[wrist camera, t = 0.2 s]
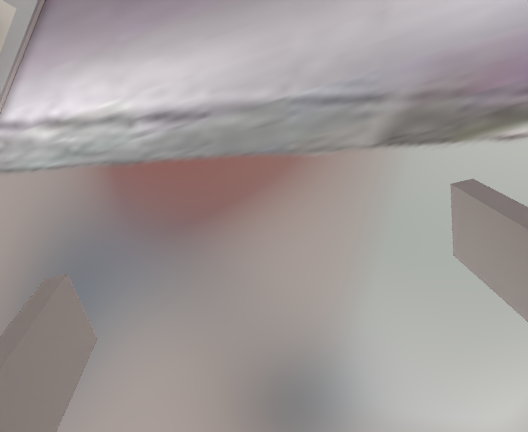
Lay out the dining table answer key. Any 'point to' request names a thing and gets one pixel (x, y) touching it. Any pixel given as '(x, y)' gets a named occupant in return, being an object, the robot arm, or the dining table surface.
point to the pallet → (15, 37)
